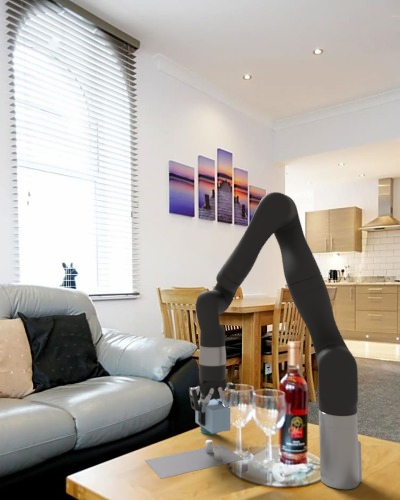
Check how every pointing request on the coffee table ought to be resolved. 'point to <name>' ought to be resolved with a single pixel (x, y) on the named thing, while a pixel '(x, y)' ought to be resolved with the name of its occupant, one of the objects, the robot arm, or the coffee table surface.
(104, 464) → the coffee table surface
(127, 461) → the coffee table surface
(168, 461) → the stub board
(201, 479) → the coffee table surface
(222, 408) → the pale blue upright block
